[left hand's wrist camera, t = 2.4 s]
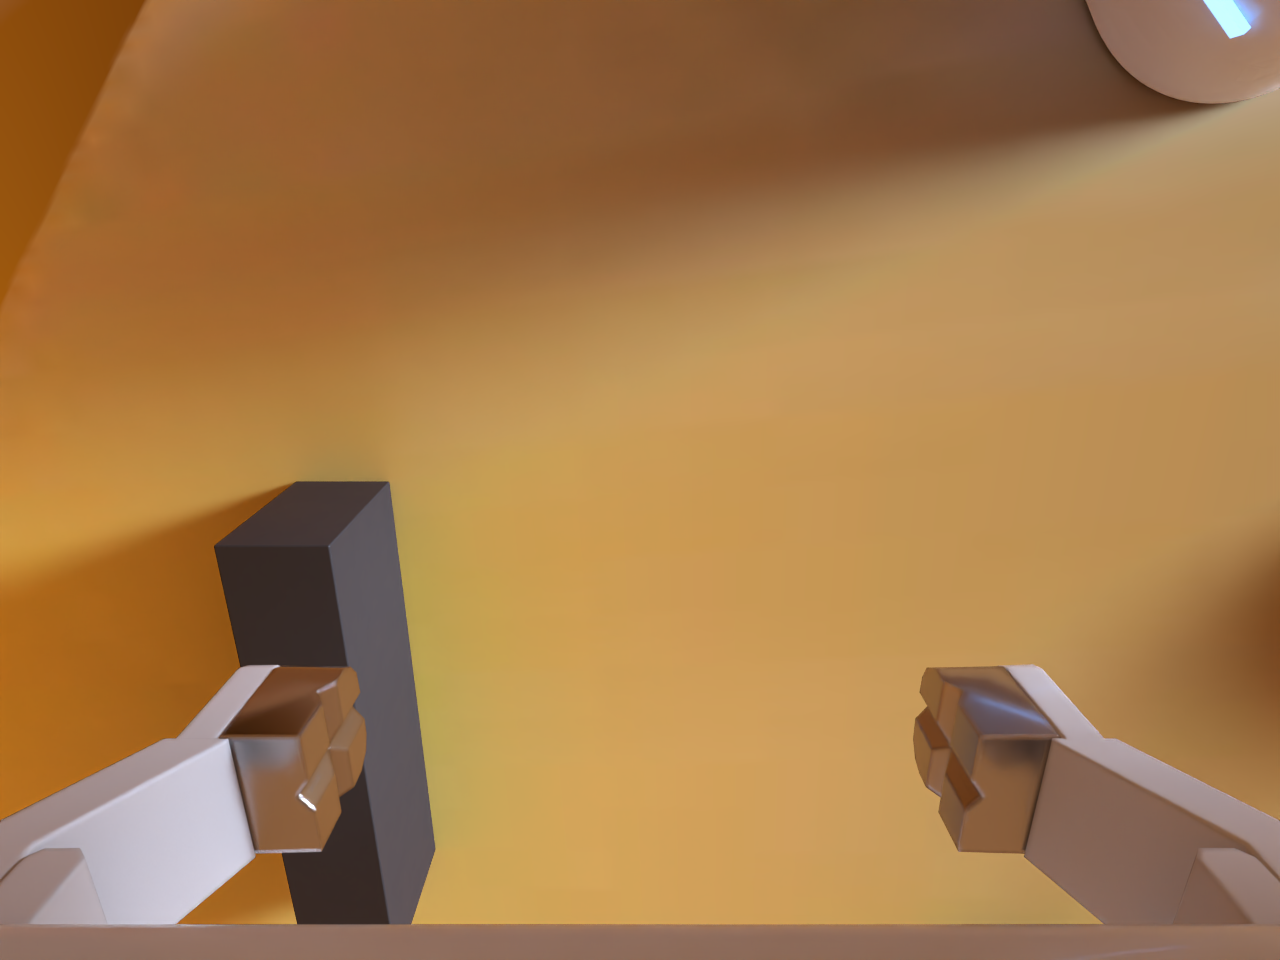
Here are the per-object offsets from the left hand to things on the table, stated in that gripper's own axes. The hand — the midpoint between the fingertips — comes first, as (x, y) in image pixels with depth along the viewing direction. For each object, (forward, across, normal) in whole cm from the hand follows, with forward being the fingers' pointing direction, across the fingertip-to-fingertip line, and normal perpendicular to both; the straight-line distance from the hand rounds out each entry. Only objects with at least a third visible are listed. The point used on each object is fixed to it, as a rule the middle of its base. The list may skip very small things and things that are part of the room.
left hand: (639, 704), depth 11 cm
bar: (+29, -16, -20) cm, 39 cm away
